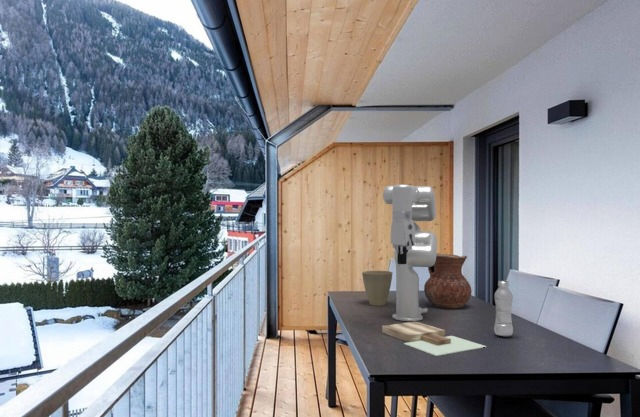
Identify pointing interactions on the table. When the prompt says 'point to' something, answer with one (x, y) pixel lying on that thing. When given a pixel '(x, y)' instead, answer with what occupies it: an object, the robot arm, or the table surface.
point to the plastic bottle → (503, 310)
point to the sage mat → (445, 346)
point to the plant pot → (377, 286)
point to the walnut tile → (436, 339)
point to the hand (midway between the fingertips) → (402, 263)
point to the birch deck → (411, 331)
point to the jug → (447, 282)
